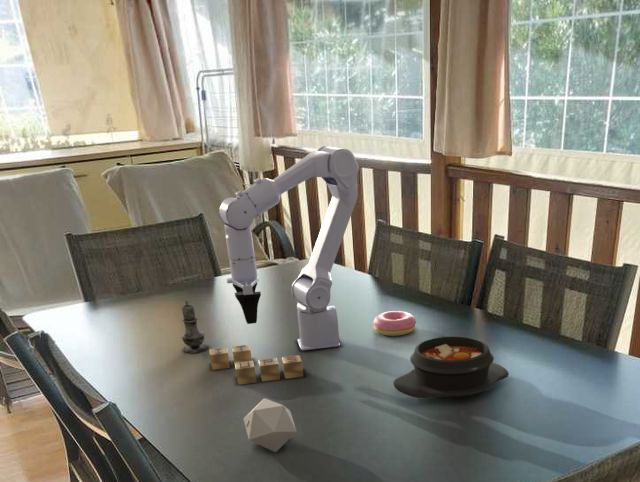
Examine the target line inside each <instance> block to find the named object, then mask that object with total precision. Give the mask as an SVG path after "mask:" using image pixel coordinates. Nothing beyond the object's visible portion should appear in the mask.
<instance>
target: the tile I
mask: <svg viewBox="0 0 640 482" xmlns="http://www.w3.org/2000/svg"><path fill="white" fill-rule="evenodd" d="M208 350H209V351H208V353H209V358H210V363H211V370H212V371H214V370H225V369H230V368H231V366H230V365H231V364H230V359H229V354H228V348H227V347H225V346H224V347H218V348H216V347H215V348H209V349H208Z"/></svg>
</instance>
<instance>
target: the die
mask: <svg viewBox="0 0 640 482" xmlns="http://www.w3.org/2000/svg"><path fill="white" fill-rule="evenodd" d="M243 422H244V426H245V431H246V434H247V438H248V441H250V442H252V443H254V444H256V445H258V446H260V447H263V448H265V449H267V450H269V451H271V452H274V453H277V452H278V451H279V450H280V449H281V448H282V447H283V446H284V445H285V444H286V443H287V442H288V441H289V440H290V439H291V438H292V437H293V436H294V435H296V433H297V427H296V426H295V425H296V424H295V422H294V418H293V415H292V412H291V410H290V409H289V408H287V407H286V406H285V405H283V404H281V403H278V402H276V401H273V400H270V399H268V398H265V397H264V398H263V399H261V401H259V402H258V404H257V405H256V406H255V407H254V408H252V410H250V411H249V412H248V413H247V414H246V415H245V416H244V418H243Z"/></svg>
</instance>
